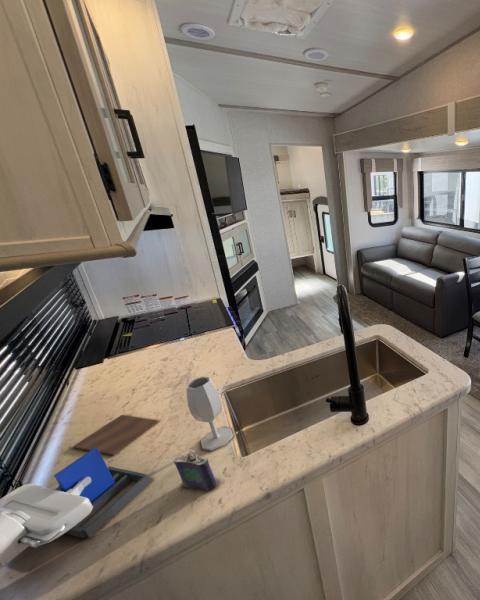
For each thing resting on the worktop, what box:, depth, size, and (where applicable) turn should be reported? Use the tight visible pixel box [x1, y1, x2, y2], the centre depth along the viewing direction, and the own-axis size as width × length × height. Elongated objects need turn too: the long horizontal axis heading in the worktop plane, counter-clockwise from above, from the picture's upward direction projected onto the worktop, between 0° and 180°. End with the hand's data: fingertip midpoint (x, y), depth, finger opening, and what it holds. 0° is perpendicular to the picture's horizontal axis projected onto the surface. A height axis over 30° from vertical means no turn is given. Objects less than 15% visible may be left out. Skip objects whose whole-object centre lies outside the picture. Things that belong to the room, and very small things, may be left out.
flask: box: [173, 450, 218, 492], centre depth 78 cm, size 9×3×11 cm, turn 79°
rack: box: [65, 466, 151, 540], centre depth 76 cm, size 15×15×2 cm
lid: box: [53, 448, 115, 503], centre depth 74 cm, size 1×8×12 cm, turn 167°
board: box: [73, 414, 158, 456], centre depth 99 cm, size 16×14×1 cm
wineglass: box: [185, 376, 234, 452], centre depth 91 cm, size 9×9×21 cm
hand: (84, 477), depth 74 cm, fingers closed on lid, 1 cm apart
